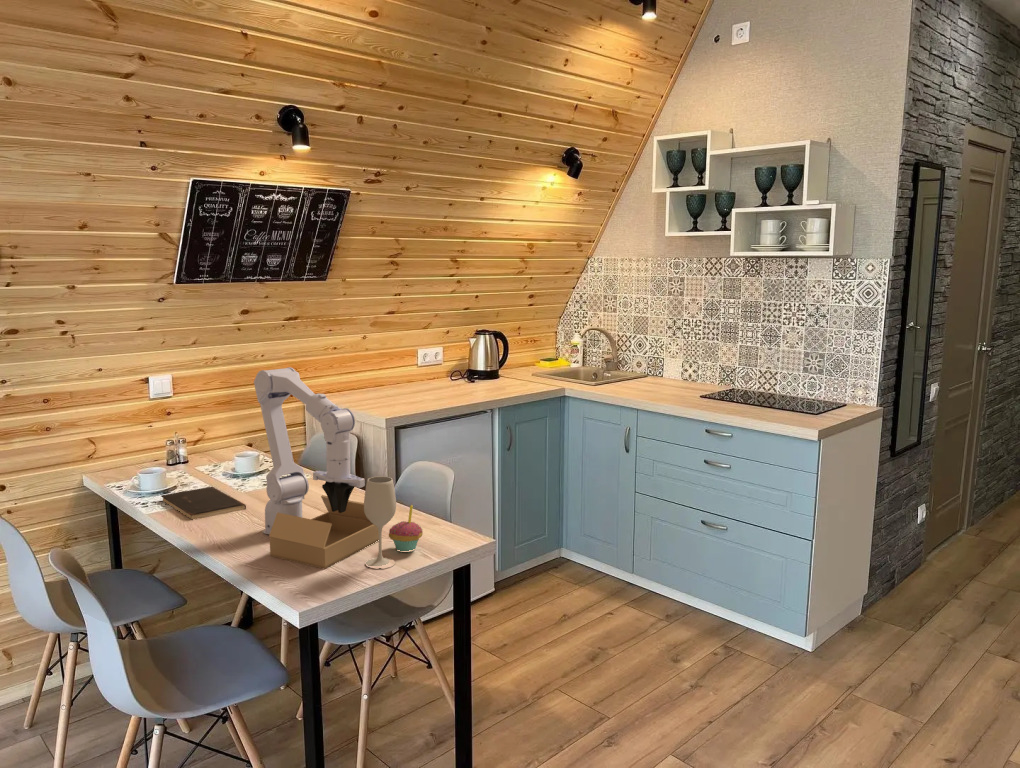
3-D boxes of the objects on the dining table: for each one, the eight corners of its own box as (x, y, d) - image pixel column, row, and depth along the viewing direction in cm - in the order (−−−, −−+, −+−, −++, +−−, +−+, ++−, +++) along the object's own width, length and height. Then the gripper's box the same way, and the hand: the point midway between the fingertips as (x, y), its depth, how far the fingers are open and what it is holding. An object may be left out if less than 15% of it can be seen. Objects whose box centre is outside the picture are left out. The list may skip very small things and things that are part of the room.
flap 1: (332, 523, 186) (330, 523, 185) (324, 548, 184) (322, 548, 183) (278, 512, 193) (277, 512, 192) (270, 536, 191) (269, 536, 191)
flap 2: (320, 496, 207) (321, 495, 207) (328, 512, 211) (329, 510, 211) (372, 506, 200) (373, 504, 200) (379, 522, 203) (380, 520, 204)
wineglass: (373, 572, 183) (373, 485, 180) (358, 562, 189) (358, 478, 186) (401, 565, 188) (402, 480, 185) (386, 555, 194) (386, 473, 191)
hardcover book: (191, 522, 217) (190, 514, 216) (161, 502, 233) (161, 495, 233) (246, 511, 228) (246, 503, 227) (214, 493, 244) (213, 486, 244)
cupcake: (406, 541, 204) (406, 497, 202) (429, 549, 199) (430, 503, 197) (381, 550, 198) (381, 504, 196) (405, 558, 192) (405, 511, 190)
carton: (270, 556, 192) (269, 536, 191) (328, 529, 211) (327, 512, 211) (325, 569, 185) (324, 548, 184) (379, 540, 204) (379, 522, 203)
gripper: (304, 457, 192) (305, 510, 194) (352, 465, 186) (352, 520, 188) (323, 452, 198) (323, 503, 201) (369, 459, 192) (370, 512, 194)
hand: (338, 511), depth 195 cm, fingers closed
